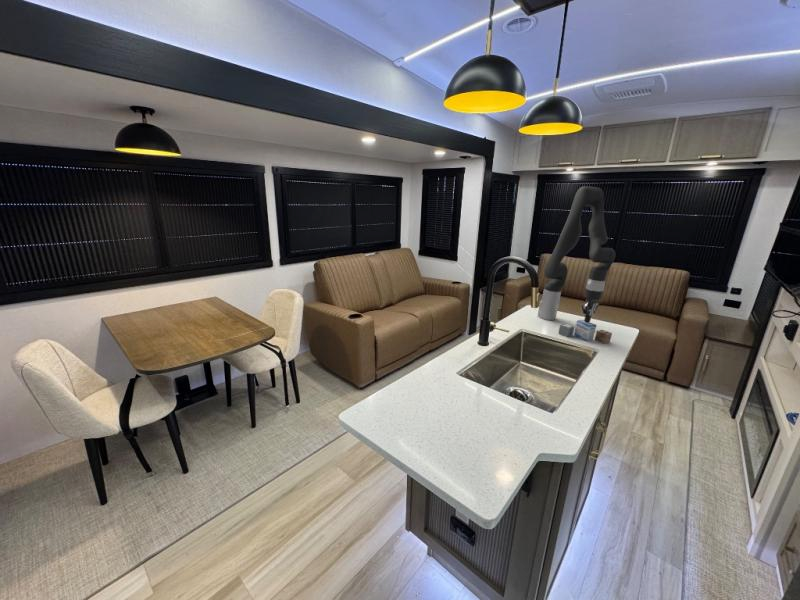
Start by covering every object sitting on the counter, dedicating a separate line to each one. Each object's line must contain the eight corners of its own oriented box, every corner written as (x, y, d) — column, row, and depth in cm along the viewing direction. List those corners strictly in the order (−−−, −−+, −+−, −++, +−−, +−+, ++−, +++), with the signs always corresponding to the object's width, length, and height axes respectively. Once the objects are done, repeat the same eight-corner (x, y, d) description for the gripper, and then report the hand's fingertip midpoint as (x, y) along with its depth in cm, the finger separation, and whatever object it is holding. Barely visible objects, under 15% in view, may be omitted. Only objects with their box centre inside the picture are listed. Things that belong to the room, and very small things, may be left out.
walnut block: (594, 340, 161) (596, 330, 160) (599, 338, 164) (601, 329, 163) (604, 344, 158) (607, 334, 156) (609, 342, 160) (612, 332, 159)
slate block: (558, 333, 168) (560, 324, 166) (563, 332, 170) (565, 323, 169) (567, 337, 164) (569, 328, 162) (572, 335, 166) (574, 326, 165)
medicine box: (573, 335, 166) (576, 320, 163) (578, 334, 168) (582, 319, 165) (587, 341, 159) (591, 325, 157) (593, 340, 161) (596, 324, 158)
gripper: (593, 285, 162) (586, 317, 167) (579, 288, 155) (572, 321, 160) (609, 288, 156) (601, 321, 161) (595, 292, 149) (587, 326, 154)
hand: (586, 321), depth 161 cm, fingers closed
